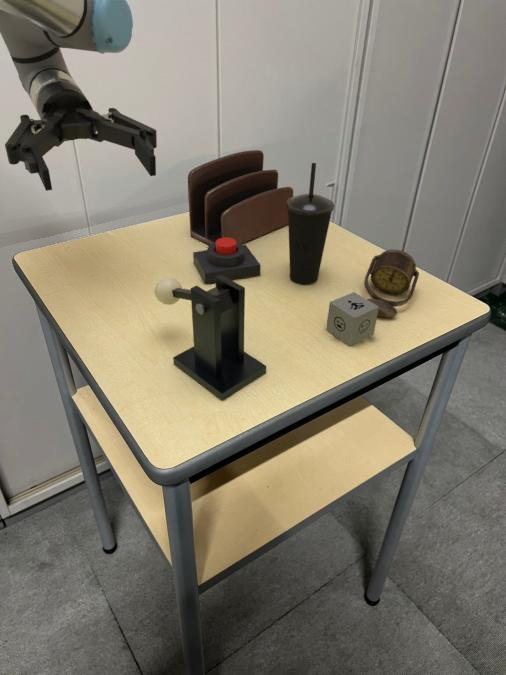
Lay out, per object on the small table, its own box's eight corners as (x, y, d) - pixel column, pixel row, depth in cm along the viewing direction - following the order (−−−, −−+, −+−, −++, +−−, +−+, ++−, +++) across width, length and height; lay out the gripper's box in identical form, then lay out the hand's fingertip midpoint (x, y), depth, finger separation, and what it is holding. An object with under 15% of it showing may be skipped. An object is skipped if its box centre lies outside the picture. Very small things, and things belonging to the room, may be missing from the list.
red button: (219, 257, 88) (219, 247, 87) (213, 247, 91) (213, 238, 90) (239, 254, 89) (239, 245, 88) (232, 245, 92) (232, 236, 91)
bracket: (173, 364, 71) (166, 283, 63) (217, 340, 76) (215, 262, 68) (222, 401, 65) (220, 317, 58) (266, 372, 70) (270, 292, 62)
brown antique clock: (443, 267, 83) (393, 235, 88) (404, 290, 75) (351, 253, 79) (423, 301, 88) (376, 269, 92) (384, 326, 80) (335, 290, 84)
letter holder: (189, 236, 103) (185, 165, 94) (259, 209, 114) (261, 144, 106) (223, 253, 97) (222, 179, 89) (292, 223, 109) (297, 155, 100)
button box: (205, 284, 88) (204, 263, 86) (193, 263, 94) (192, 242, 92) (260, 275, 91) (260, 255, 88) (245, 255, 97) (245, 235, 94)
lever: (153, 306, 73) (146, 281, 71) (175, 297, 75) (168, 272, 73) (217, 321, 62) (209, 292, 61) (239, 310, 65) (233, 281, 63)
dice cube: (349, 346, 75) (354, 318, 72) (326, 329, 78) (329, 302, 75) (373, 334, 77) (378, 306, 74) (349, 319, 81) (353, 291, 78)
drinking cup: (283, 265, 94) (290, 154, 82) (326, 269, 93) (339, 157, 81) (279, 287, 88) (286, 170, 76) (324, 291, 87) (339, 173, 75)
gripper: (142, 123, 86) (191, 186, 74) (-21, 138, 76) (4, 214, 64) (140, 75, 81) (193, 134, 69) (-35, 85, 71) (-10, 157, 59)
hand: (102, 173), depth 66 cm, fingers open, 13 cm apart
